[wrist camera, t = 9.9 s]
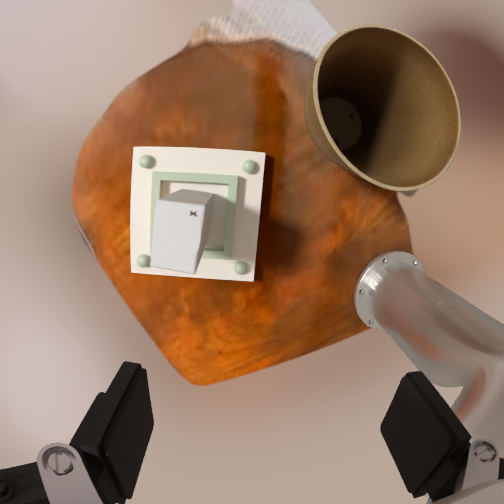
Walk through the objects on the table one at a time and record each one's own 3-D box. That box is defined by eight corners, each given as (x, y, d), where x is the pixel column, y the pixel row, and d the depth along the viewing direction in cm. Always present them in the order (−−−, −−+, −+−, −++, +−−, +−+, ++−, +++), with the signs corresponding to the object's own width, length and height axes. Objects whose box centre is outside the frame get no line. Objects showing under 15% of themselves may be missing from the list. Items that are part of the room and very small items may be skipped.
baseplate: (264, 153, 35) (266, 152, 33) (252, 277, 40) (254, 284, 37) (137, 147, 34) (130, 146, 32) (134, 268, 38) (128, 275, 36)
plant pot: (275, 174, 36) (306, 178, 21) (283, 64, 32) (315, 5, 17) (381, 188, 37) (457, 203, 22) (387, 86, 34) (458, 56, 18)
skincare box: (180, 187, 34) (156, 196, 23) (215, 193, 35) (207, 204, 23) (173, 236, 36) (148, 267, 24) (208, 242, 36) (197, 275, 25)
